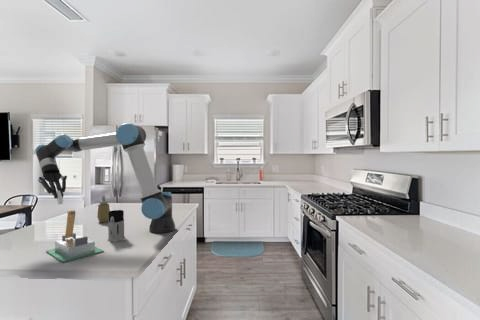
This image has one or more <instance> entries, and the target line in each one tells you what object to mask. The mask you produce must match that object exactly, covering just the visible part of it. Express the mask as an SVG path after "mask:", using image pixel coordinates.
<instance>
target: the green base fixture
mask: <svg viewBox="0 0 480 320" xmlns="http://www.w3.org/2000/svg"><path fill="white" fill-rule="evenodd" d="M95 245H96V242H95V241H93V240H92V239H89V238H88V236H83V235H77V233H75V232H73V237H71V238H65V234H64V235H61V239H57V240H56V239H55V240H54V248H51V249H47V250H45V252H46V253H47V254H49V255H50V256H51V255H52V256H51V257H53V258H54V259H56V260H57V261H59V262H61V263H62V264H64V263H68V262H71V261H72V262H73V261H75V260H80V259H83V258H87V257H90V256H94V255H98V254H102V253H105V250H103V249H101V248H99V247H97V246H95Z"/></svg>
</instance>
